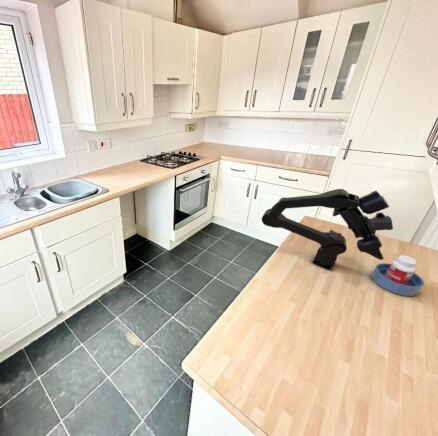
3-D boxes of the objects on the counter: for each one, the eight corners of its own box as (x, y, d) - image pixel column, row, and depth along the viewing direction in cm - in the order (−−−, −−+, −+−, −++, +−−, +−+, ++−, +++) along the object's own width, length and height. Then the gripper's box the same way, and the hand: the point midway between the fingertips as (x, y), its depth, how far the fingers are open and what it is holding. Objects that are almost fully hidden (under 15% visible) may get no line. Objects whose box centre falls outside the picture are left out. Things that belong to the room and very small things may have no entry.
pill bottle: (378, 277, 94) (391, 254, 89) (392, 276, 94) (406, 253, 89) (393, 289, 89) (409, 265, 83) (409, 287, 89) (425, 264, 84)
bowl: (368, 283, 92) (373, 274, 90) (373, 267, 100) (378, 258, 98) (416, 303, 84) (423, 293, 81) (418, 283, 91) (424, 274, 89)
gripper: (386, 220, 78) (415, 259, 78) (377, 199, 91) (402, 232, 91) (346, 234, 85) (373, 269, 85) (344, 213, 99) (367, 243, 99)
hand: (380, 252), depth 90 cm, fingers open, 9 cm apart
